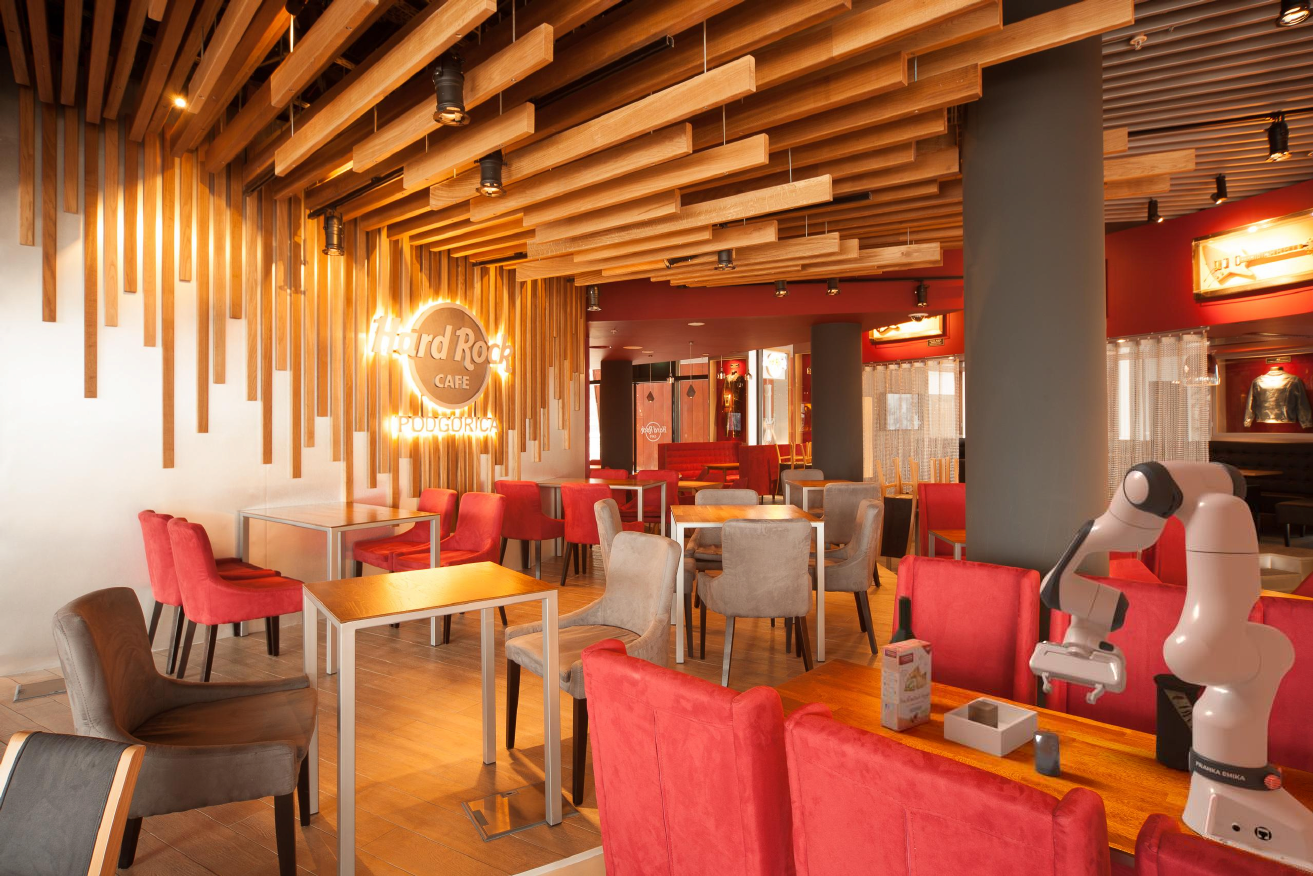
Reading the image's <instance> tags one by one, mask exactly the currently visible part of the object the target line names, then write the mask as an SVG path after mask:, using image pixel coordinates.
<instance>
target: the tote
mask: <svg viewBox="0 0 1313 876" xmlns="http://www.w3.org/2000/svg"><path fill="white" fill-rule="evenodd" d="M977 700H980V701H983V702H987V703H990V704H994V705H997V706H998V729H996V728H993V727H990V726H986V725H983V724H980V723H977V722H974V721H970V720H968V704H970V703H972V702H974V701H977ZM1038 715H1039V714H1038V711H1034V710H1032V709H1031V710H1030V709H1028V708H1025V707H1021V706H1018V705H1014V704H1009V703H1007V702H1003V701H999V700H997V699H993V698H988V697H985V696H981V697H979V698H976V699H974V700H972V701H970V702H968V703H965V704H963V705H961V706H958V707H957V708H954V709H952V710H949V711H948V712H945V713H943V739H945V740H949V741H952V742H955V743H957V744H961V745H963V746H966V747H969V748H972V749H975V750H978V751H981V752H983V753H987V754H990V755H993V756H996V757H998V758H1002V757H1004V756H1006V755H1007V754H1009V753H1011V752H1012V751H1014V750H1016V749H1018V748H1019V747H1022V746H1023V745H1025V744H1026V743H1028V742H1030V741H1031V740H1034V732H1035V731H1039V728H1038V726H1039V724H1038V722H1039V721H1038V719H1039V718H1038Z"/></svg>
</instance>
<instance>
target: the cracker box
mask: <svg viewBox="0 0 1313 876" xmlns="http://www.w3.org/2000/svg"><path fill="white" fill-rule="evenodd" d="M931 684H932V643H931V642H927V641H925V640H920V639H918V638H917V639H911V640H906V641H902V642H898V643H893V644H885V645H882V646H881V683H880V685H881V691H880V692H881V693H880V695H881V697H880V700H881V701H880V725H881V726H883V727H885V728H888V729H889V730H893V731H895V732H898V733H899V732H902V731H904V730H907V729H908V730H909V729H910V728H913V727H916V726H920V725H923V724H924V723H928V722H930V721H931V698H932V697H931V695H932V694H931V689H932V685H931Z"/></svg>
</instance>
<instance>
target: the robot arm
mask: <svg viewBox="0 0 1313 876" xmlns="http://www.w3.org/2000/svg"><path fill="white" fill-rule="evenodd" d="M1247 489H1248V487H1247V482H1246V479H1245V477H1244V475H1243V473H1242V472H1241V471H1240V470H1239V469H1238V468H1237V467H1235V466H1233V465H1230V464H1228V463H1227V464H1226V463H1225V462H1219V461H1209V462H1208V461H1197V460H1186V459H1175V460H1174V459H1173V460H1162V461H1156V460H1155V461H1154V460H1150V461H1146V462H1145V461H1144V462H1141V463H1137V464H1135V465H1133V466H1130V468H1129V469H1128V470H1127V471H1126V472H1125V475H1124V477H1123V480H1122V481H1121V482H1120V484H1119V485H1118V487H1117V489H1116V491H1115V493H1114V494H1113V496H1112V498H1111V501H1110V503H1109V506H1108V507H1107V509H1106V511H1105V512H1104V514H1102V515H1101V516H1099V517H1097V518H1096V519H1090V520H1089V519H1088V520H1087V521H1086V522H1084V524H1082V525H1081V526H1080V528H1079V529H1078V531H1077V532H1076V534H1075V535H1074V536H1073V537H1072V539H1071V541H1070V542H1069V543H1068V545H1067V547H1065V550H1064V551H1063V553H1062V555H1061V556H1060V557H1059V558H1058V560H1057V562H1056V563H1055V565H1054V566H1053V567H1052V569H1051V570H1050V571H1049V572H1048V573H1047V574H1046V575H1045V576H1044V578H1043V580H1042V581H1041V583H1040V587H1039V594H1038V595H1039V597H1040V598H1041V600H1042V602H1043V603H1044V605H1046V607H1047V608H1049V609H1053V610H1055V611H1058V612H1063V613H1066V614H1069V615H1071V617H1070V619H1071V620H1070V621H1071V622H1070V625H1069V627H1067V629H1066V632H1065V635H1064V638H1063V640H1062V643H1060V642H1052V641H1049V640H1044V641H1040V642H1038V643H1036V646H1035V647H1034V648H1035V649H1034V652H1033V653H1032V655H1031V658H1030V659H1029V663H1028V664H1029V668H1030V670H1031V671H1032V673H1033V675H1036V676H1040V677H1042V681H1043V687H1042V691H1043V692H1044V693H1046V694H1049V695H1050V694H1052V693H1053V689H1054V687H1053V686H1052V684H1051V683H1049V682H1051V680H1052V679H1054V680H1059V681H1063V682H1066V683H1073V684H1076V685H1081V686H1085V687H1088V688H1089V687H1090V688H1094V690H1093V691H1092V692H1087V693H1086V697H1085V701H1086V702H1087V703H1088V704H1092V705H1095V704H1096V701H1097V699H1099V698H1100V697H1101V696H1103V695H1104V694H1105V692H1106V691H1107V692H1112V693H1115V694H1120V693H1122V692H1123V691H1125V690H1126V683H1127V671H1126V669H1125V667H1126V666H1127V662H1126V661H1127V660H1126V658H1125V654H1124V653H1123V651H1122V650H1121V648H1120V647H1119V646H1117V645H1116V644H1113V643H1111V642H1109V641H1108V636H1109V634H1111V633H1113V632H1116V631H1117V630H1119V629H1122V627H1123V626H1124V624H1125V621H1126V620H1125V619H1126V614H1127V611H1128V609H1129V606H1130V602H1129V599H1128V598H1127V596H1126V594H1125V593H1124V592H1123V591H1122V590H1120V589H1118V588H1116V587H1112V586H1111V585H1107V584H1104V583H1101V582H1098V581H1095V580H1092V579H1089V578H1086V577H1083V576H1080V575H1078V574H1077V573H1075V571H1076V570H1077V568H1078V567H1079V566H1080V564H1081V562H1082V561H1083V560H1084V558H1085V557H1086V556H1087V555H1088V554H1091V553H1096V552H1119V553H1132V552H1133V553H1134V552H1138V551H1143V550H1145V549H1148V548H1150V547H1151V546H1153V545H1155V544H1156V542H1157V540H1158V539H1159V537H1160V536H1161V534H1162V533H1163V531H1164V530H1165V529H1164V528H1166V527H1165V526H1166V524H1167V522H1168V519H1169V518H1170V517H1172V516H1174V517H1176V518H1177V519H1179V520H1180V521H1181V523H1182V524H1183V527H1184V532H1185V533H1184V534H1185V557H1186V577H1187V584H1186V585H1187V586H1186V594H1185V595H1186V596H1185V601H1184V604H1183V609H1182V612H1181V615H1180V617H1179V621H1178V623H1177V625H1176V627H1175V629H1174V630H1173V631H1172V633H1170V635H1169V636H1168V637H1166V639H1165V641H1164V644H1163V648H1162V654H1163V659H1164V661H1165V664H1166V666H1167V667H1168V669H1169V670H1170V671H1171V674H1174V675H1176V676H1177V677H1178V678H1180V679H1181V680H1183V681H1185V682H1188V683H1192V684H1198V685H1201V686H1203V687H1204V686H1205V689H1204V691H1203V693H1202V695H1201V696H1200V697H1198V701H1197V702H1196V703H1195V705H1194V707H1193V745H1192V747H1190V752H1189V770H1190V771H1189V776H1190V785H1189V791H1188V792H1189V793H1188V798H1187V802H1186V805H1185V808H1184V811H1183V813H1182V816H1181V817H1182V821H1183V823H1185V825H1186V826H1187V827H1188V828H1190V829H1191V830H1192V831H1194V832H1196V833H1198V834H1199V835H1201V836H1202V837H1203V838H1204V837H1206V838H1209V839H1212V840H1214V841H1217V842H1220V843H1224V844H1227V845H1230V846H1233V847H1236V848H1240V849H1242V850H1246V851H1249V852H1252V853H1255V854H1259V855H1261V856H1262V857H1266V858H1269V859H1273V860H1276V861H1279V862H1281V863H1284V864H1287V865H1291V866H1293V867H1296V868H1299V869H1302V870H1305V871H1308V872H1311V873H1313V811H1311V810H1310V809H1309V808H1307V807H1306V806H1305V805H1303V804H1302V803H1301V802H1300V801H1299V800H1297V799H1296V798H1295V797H1294V796H1293V795H1292V794H1290V793H1289V792H1288V791H1287V790H1286V789H1284V788H1283V787H1282V782H1283V777H1282V775H1283V774H1282V771H1283V770H1282V768H1281V766H1280V767H1278V768H1275V766H1273V765H1272V764H1271V763H1270V762H1269V761H1268V726H1269V725H1268V724H1269V718H1270V715H1271V714H1270V713H1271V710H1272V706H1273V703H1274V700H1275V697H1276V694H1277V693H1278V689H1279V686H1280V683H1281V682H1282V679H1283V678H1284V676H1285V675H1286V673H1287V672H1288V671H1289V670H1290V669H1291V668H1292V667H1293V665H1294V664H1295V659H1296V652H1295V648H1294V646H1293V643H1292V642H1291V640H1290V639H1289V638H1288V636H1287V635H1286V634H1285V633H1283V632H1282V631H1281V630H1279V629H1278V628H1276V627H1273V626H1271V625H1269V624H1268V625H1267V624H1263V623H1259V622H1253V621H1252V622H1251V621H1248V620H1249V616H1250V613H1251V612H1252V609H1253V606H1254V605H1255V604H1256V603H1257V602H1258V600H1259V599H1260V597H1261V595H1262V591H1263V590H1262V577H1261V564H1260V563H1261V562H1260V552H1259V550H1260V549H1259V542H1258V535H1257V534H1258V533H1257V530H1256V525H1255V522H1254V518H1253V515H1252V512H1251V509H1250V507H1249V505H1248V503H1247V502H1246V501H1245V499H1246V497H1247V491H1248V490H1247Z"/></svg>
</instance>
